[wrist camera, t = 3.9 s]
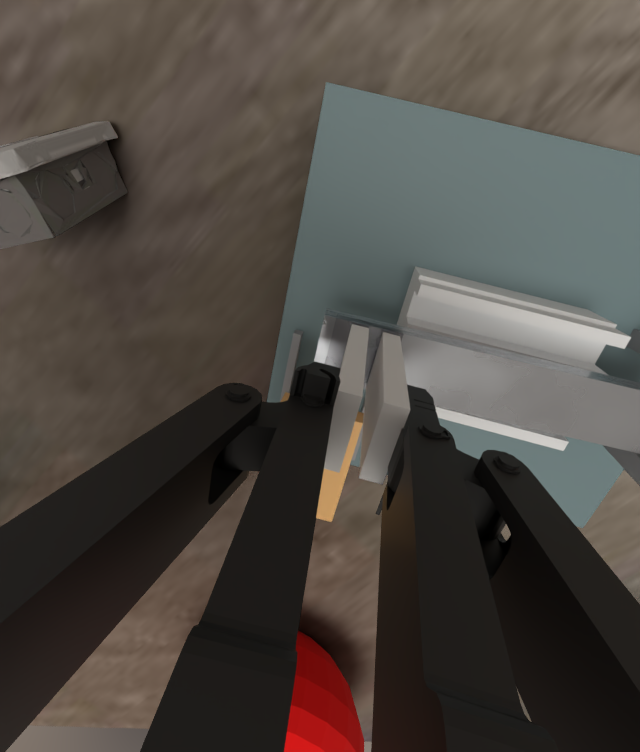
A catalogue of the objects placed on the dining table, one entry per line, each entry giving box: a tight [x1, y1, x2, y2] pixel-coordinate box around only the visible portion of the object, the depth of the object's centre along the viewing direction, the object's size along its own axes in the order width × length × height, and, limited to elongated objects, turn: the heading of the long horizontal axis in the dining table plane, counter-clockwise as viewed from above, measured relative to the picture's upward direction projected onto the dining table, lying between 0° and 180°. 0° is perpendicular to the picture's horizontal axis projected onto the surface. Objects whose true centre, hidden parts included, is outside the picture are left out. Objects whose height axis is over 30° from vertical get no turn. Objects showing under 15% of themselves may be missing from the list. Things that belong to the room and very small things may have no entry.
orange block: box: [281, 392, 364, 522], centre depth 23 cm, size 4×6×8 cm, turn 168°
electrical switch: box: [0, 121, 128, 249], centre depth 21 cm, size 9×5×9 cm, turn 101°
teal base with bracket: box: [267, 82, 640, 528], centre depth 21 cm, size 24×22×9 cm
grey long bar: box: [314, 308, 640, 454], centre depth 18 cm, size 19×3×1 cm, turn 77°
